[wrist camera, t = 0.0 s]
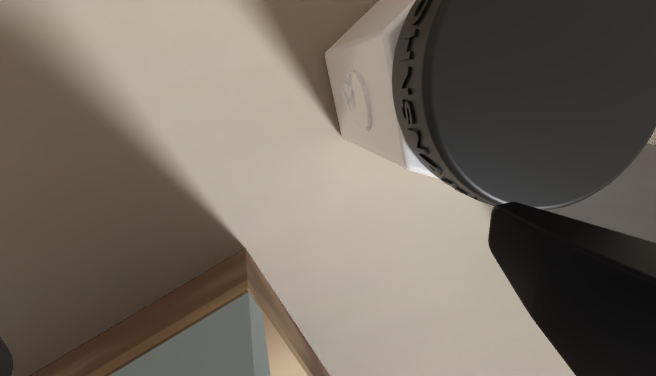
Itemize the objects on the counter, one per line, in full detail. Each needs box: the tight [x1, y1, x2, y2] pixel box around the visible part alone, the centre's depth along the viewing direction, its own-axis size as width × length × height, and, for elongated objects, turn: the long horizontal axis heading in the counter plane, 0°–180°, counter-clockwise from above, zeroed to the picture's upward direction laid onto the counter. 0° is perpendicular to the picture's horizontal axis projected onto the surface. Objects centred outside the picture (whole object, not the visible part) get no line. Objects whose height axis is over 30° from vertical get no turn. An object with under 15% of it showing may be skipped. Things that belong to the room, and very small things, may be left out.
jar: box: [325, 0, 656, 211], centre depth 18 cm, size 9×8×12 cm
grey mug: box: [549, 144, 656, 243], centre depth 24 cm, size 13×10×10 cm
